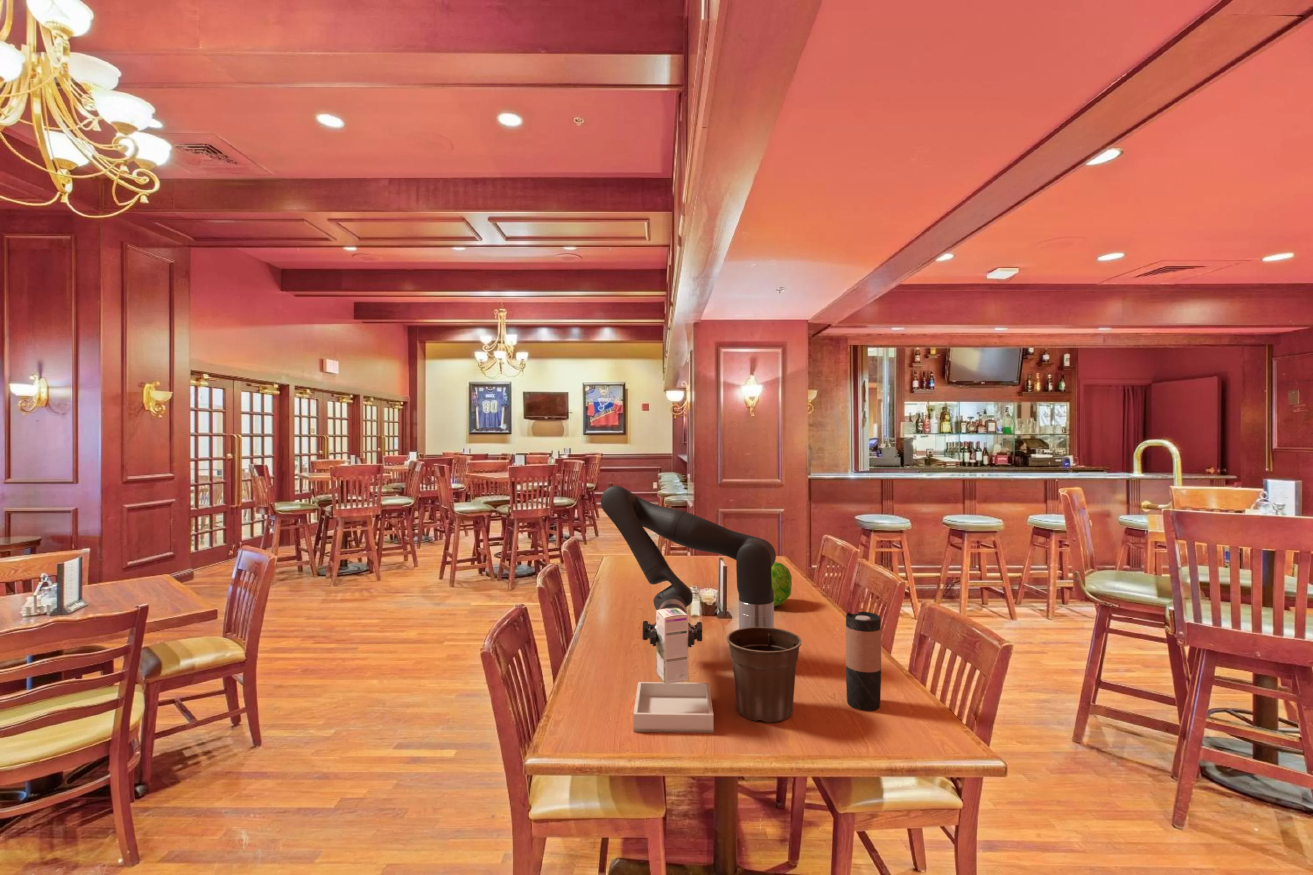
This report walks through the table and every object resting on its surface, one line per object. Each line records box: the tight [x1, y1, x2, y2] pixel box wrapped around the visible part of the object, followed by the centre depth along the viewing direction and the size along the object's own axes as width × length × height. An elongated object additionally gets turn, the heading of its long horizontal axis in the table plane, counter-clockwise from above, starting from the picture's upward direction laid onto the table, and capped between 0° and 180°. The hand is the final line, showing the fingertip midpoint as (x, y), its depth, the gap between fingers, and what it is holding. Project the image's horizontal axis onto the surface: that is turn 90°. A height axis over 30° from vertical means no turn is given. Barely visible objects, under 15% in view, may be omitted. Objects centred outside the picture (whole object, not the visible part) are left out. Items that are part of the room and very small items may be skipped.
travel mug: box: [845, 610, 882, 712], centre depth 135 cm, size 8×8×20 cm
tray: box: [632, 681, 714, 734], centre depth 130 cm, size 16×16×4 cm
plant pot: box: [726, 627, 802, 724], centre depth 132 cm, size 16×16×16 cm
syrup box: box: [655, 608, 689, 683], centre depth 131 cm, size 6×6×14 cm
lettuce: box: [771, 561, 793, 608], centre depth 216 cm, size 17×20×16 cm
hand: (672, 642), depth 128 cm, fingers closed on syrup box, 7 cm apart
